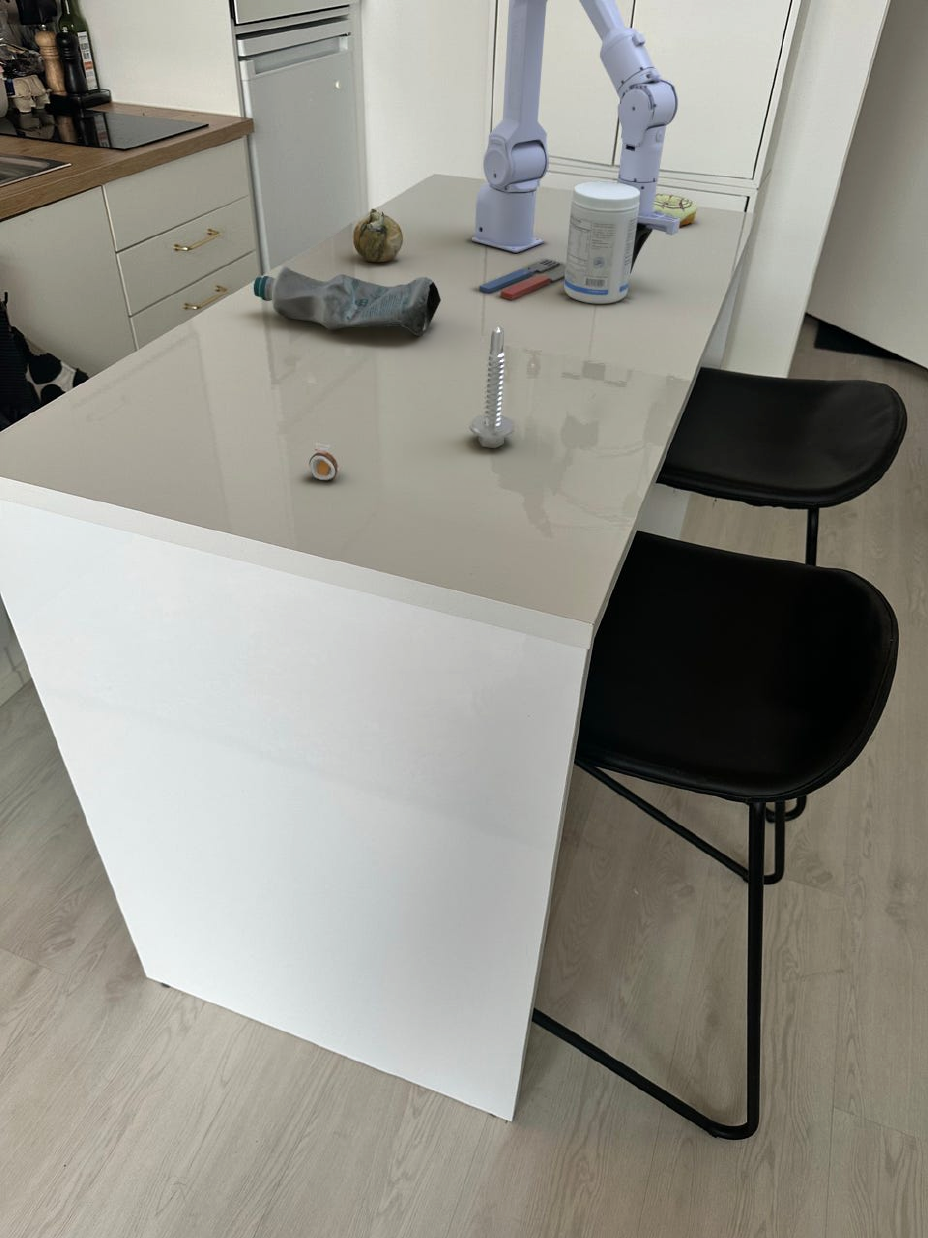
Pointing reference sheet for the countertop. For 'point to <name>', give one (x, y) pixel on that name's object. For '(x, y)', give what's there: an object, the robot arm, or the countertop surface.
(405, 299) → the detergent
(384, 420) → the countertop surface
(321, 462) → the chocolate
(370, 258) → the onion
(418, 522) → the countertop surface
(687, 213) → the decorated donut
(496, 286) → the fork
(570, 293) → the supplement tub
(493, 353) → the screw
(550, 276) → the knife
